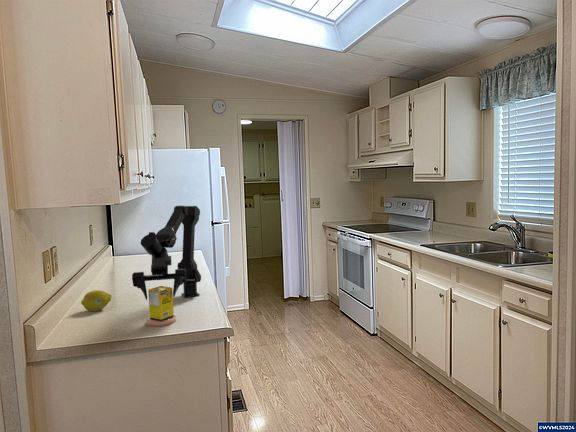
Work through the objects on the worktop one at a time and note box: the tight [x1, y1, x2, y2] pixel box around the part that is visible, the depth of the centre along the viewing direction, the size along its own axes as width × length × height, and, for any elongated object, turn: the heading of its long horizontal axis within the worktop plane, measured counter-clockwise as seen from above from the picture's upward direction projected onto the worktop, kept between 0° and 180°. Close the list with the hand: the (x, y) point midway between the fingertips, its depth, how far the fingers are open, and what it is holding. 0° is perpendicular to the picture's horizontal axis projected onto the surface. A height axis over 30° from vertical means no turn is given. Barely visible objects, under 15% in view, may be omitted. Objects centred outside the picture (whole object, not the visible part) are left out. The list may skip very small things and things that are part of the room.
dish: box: [146, 315, 177, 327], centre depth 150 cm, size 10×10×1 cm
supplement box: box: [147, 285, 175, 322], centre depth 150 cm, size 6×6×11 cm
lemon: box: [80, 289, 112, 312], centre depth 166 cm, size 11×8×8 cm
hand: (160, 297), depth 148 cm, fingers open, 9 cm apart
